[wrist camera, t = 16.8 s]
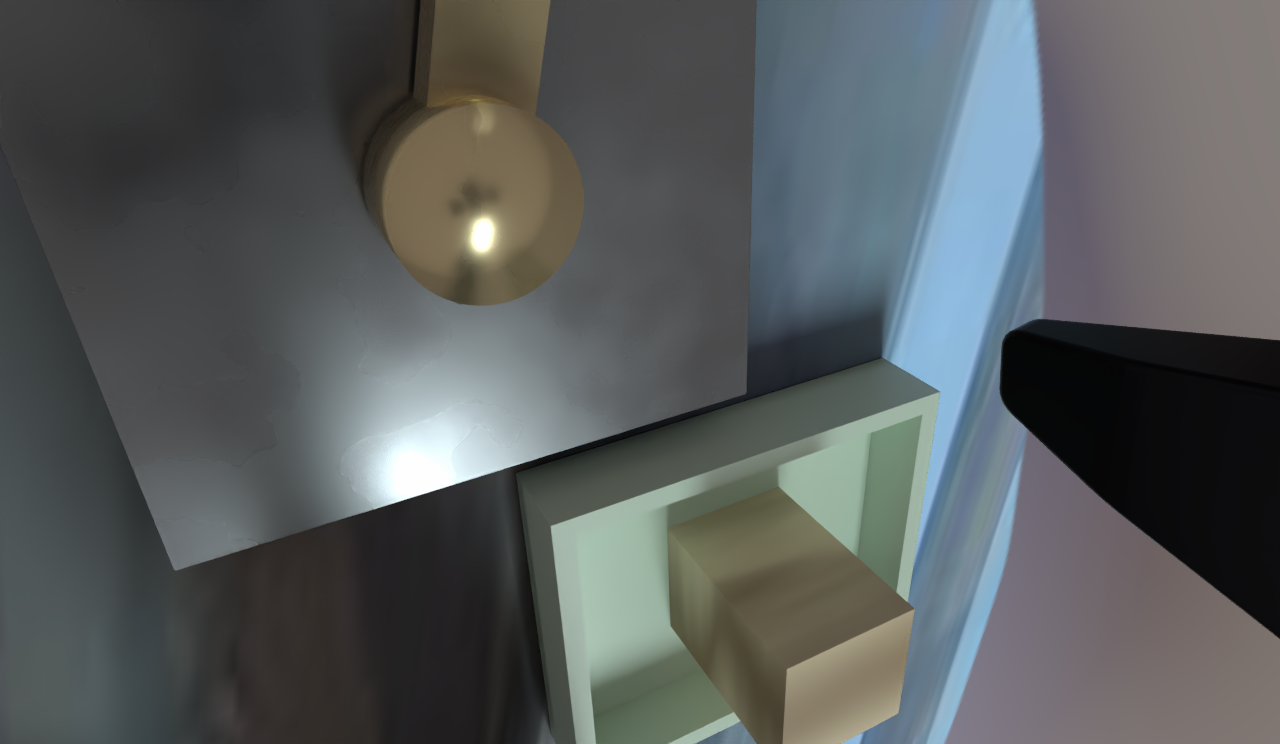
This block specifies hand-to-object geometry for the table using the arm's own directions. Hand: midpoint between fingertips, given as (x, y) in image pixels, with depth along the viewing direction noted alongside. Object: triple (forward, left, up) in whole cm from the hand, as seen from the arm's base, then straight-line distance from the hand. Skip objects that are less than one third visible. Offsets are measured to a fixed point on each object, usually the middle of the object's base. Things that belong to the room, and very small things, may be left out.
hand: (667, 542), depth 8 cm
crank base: (+1, -1, -12) cm, 12 cm away
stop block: (-13, -8, -12) cm, 19 cm away
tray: (-13, -8, -12) cm, 19 cm away
